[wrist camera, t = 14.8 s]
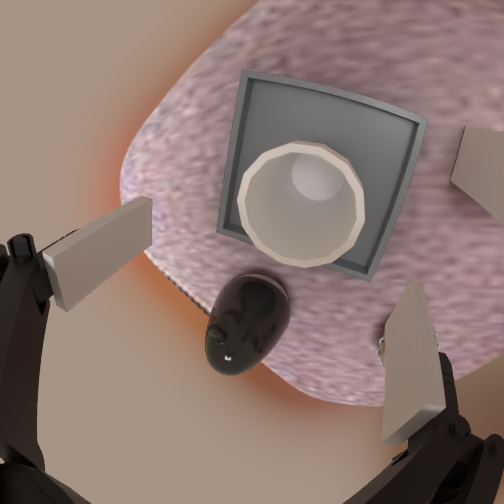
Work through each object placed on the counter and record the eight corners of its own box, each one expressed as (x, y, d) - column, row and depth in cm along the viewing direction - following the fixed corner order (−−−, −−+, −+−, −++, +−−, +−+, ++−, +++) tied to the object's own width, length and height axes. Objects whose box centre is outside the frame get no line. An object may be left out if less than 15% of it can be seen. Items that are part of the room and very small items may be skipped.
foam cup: (275, 205, 35) (235, 254, 24) (280, 129, 31) (238, 138, 20) (353, 219, 32) (352, 277, 22) (365, 140, 28) (375, 156, 17)
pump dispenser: (289, 258, 39) (253, 335, 26) (301, 320, 43) (274, 402, 30) (221, 263, 43) (165, 329, 30) (239, 320, 47) (197, 391, 34)
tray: (251, 73, 29) (242, 69, 27) (421, 118, 25) (428, 119, 23) (225, 223, 39) (216, 232, 37) (369, 269, 36) (370, 282, 33)
